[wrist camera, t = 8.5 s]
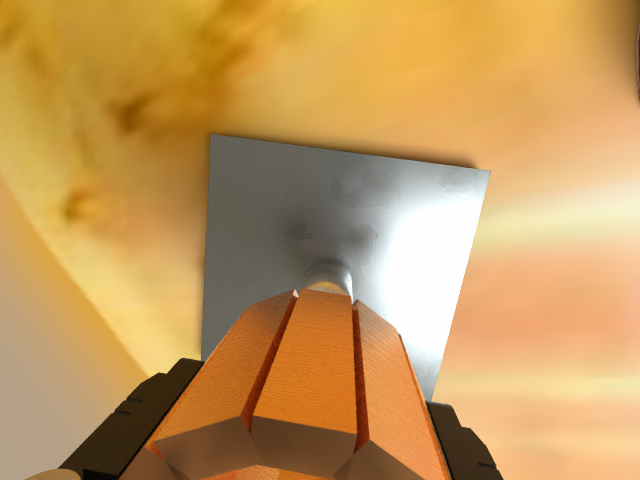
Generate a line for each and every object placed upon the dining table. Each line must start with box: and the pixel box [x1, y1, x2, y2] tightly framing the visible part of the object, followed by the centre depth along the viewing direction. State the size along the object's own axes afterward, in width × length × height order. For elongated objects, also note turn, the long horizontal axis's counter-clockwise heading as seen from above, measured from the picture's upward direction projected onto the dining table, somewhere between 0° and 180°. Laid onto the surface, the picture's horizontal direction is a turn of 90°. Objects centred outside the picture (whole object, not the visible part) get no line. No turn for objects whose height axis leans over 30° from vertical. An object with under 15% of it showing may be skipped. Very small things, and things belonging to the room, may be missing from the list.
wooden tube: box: [118, 288, 453, 480], centre depth 8 cm, size 7×7×5 cm
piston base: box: [201, 134, 491, 401], centre depth 17 cm, size 16×16×7 cm
